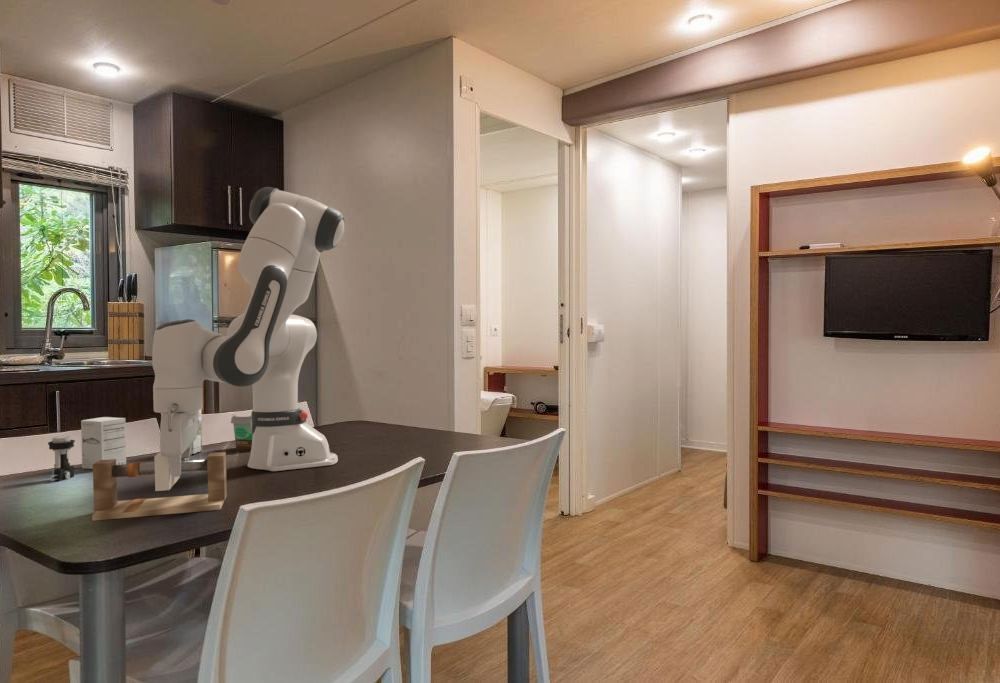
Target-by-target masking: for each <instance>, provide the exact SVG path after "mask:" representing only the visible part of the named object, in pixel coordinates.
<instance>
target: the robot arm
mask: <svg viewBox="0 0 1000 683" xmlns="http://www.w3.org/2000/svg"><path fill="white" fill-rule="evenodd" d="M248 210H249V212H248V216H249V219H250V221H251V223H252V225H253V226H252V228H251V229H250V231H249V233H248V235H247V237H246V239H245V241H244V244H243V246H242V247H241V250H240V252H239V257H238V262H237V269H238V272H239V275H240V276H241V278H242V279H243V280H244V281H245V282H246V283H247V284H248V285H249V286H250V296H249V299H248V302H247V305H246V307H245V310H244V312H243V313H242V314H240V315H239V316H237V317H235V318H234V319H233V320H232V321H231V322H230V324H229V326H228V328H227V331H226V332H227V333H226V335H223V334H222V333H218V332H215V331H213V330H210V329H209V328H207V327H205V326H203V325H201V324H200V323H199V322H198V321H197V320H195V319H180V320H175V321H174V320H172V321H167V322H165V323H162V324H160V325H159V326H157V327H156V328H155V331H154V334H153V340H152V352H151V353H152V354H151V355H152V358H151V359H152V360H151V361H152V369H153V371H154V382H153V385H152V392H153V395H152V399H153V412H154V413H159V414H160V419H161V420H160V425H159V426H160V429H159V430H160V431H159V434H160V435H159V438H160V439H159V440H160V441H159V447H160V448H159V450H160V451H161V455H162V456H163V457H167V456H168V461H169V465H170V472H171V477H179V476H180V477H181V475H182V474H183V473H182V466H181V461H182V460H191V459H190V457H191V455H190V450H191V444H192V443H193V442H194V441H195V440H196V437H197V430H198V415H199V410H201V411H202V410H203V408H204V398H203V397H204V393H203V392H204V390H203V389H204V388H203V382H204V381H206V380H208V381H212V382H218V383H224V384H228V385H232V386H235V387H243V388H244V387H248V386H251V385H252V411H251V412H250V413H251V415H250V416H251V430H252V433H253V439H252V448H251V451H250V454H249V458H248V462H247V467H248V468H250V469H254V470H255V469H256V470H264V471H270V472H279V471H287V470H288V471H289V470H297V469H307V468H316V467H324V466H325V467H326V466H332V465H335V464H337V462H338V461H339V458H338V457H339V456H338V455H337V454H336V453H334V452H331V451H330V445H329V443H328V440H327V438H326V436H325V435H324V434H323V433H321V432H320V431H319V430H317V429H315V428H314V427H313V426H312V425H310V424H308V423H307V419H308V418H309V416H308V415H309V414H308V412H307V411H305V410H303V409H301V408H299V406H298V405H299V403H298V401H299V397H298V396H299V394H298V393H299V378H300V377H299V376H300V372H301V369H302V365H303V363H304V360H305V359H306V357H307V354H308V353H309V352H310V351H311V350H312V349H313V348H314V347H315V345H316V342H317V339H318V338H317V337H318V332H317V328H316V325H315V324H314V322H313V321H312V320H311V319H310V318H307V317H303V316H302V315H297V314H293V313H294V312H295V310H296V309H297V308H299V307H300V306H301V305H303V304H304V303H305V302H306V301H307V300H308V298H309V296H310V293H311V290H312V286H313V282H314V279H315V276H316V274H317V273H316V272H317V269H318V265H319V260H320V255H321V253H323V252H324V251H330V250H333V249H334V248H336V247H337V246H338V244H339V243H340V241H341V240H342V238H343V236H344V233H345V218H344V216H343V213H342V212H341V211H340V210H338V209H337V208H335V207H333V206H328V205H326V204H324V203H322V202H320V201H317V200H316V199H313V198H310V197H308V196H305V195H301V194H296V193H292V192H289V191H284V190H280V189H279V188H276V187H271V186H264V187H262V188H260V189H258V190H257V191H256V192H255V193H254V194H253V197H252V199H251V201H250V204H249V209H248ZM160 451H159V452H160Z"/></svg>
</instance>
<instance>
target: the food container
mask: <svg viewBox="0 0 1000 683" xmlns="http://www.w3.org/2000/svg"><path fill="white" fill-rule="evenodd" d="M230 424H233V434H234V442H235V450H236V451H240V452H241V451H242V452H244V451H246V452H251V448H252V439H253V433H252V430H251V415H248V416H237V415H236V413H235V414H232V416H231V420H230Z"/></svg>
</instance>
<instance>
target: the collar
mask: <svg viewBox="0 0 1000 683" xmlns="http://www.w3.org/2000/svg"><path fill="white" fill-rule="evenodd" d="M154 462H155V475H154V486H155V487H154V488H155V489H154V491H155V492H162V491H170V490H171V489H172V488H173V486H175V484H176V483H177V482H178V480H179V479H180V477H181V475H180V476H179V477H171V472H170V465H169V461H168V456H167V457H163V456H162V455H161V451H159V452H158V453H157V454H155V455H154Z"/></svg>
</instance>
